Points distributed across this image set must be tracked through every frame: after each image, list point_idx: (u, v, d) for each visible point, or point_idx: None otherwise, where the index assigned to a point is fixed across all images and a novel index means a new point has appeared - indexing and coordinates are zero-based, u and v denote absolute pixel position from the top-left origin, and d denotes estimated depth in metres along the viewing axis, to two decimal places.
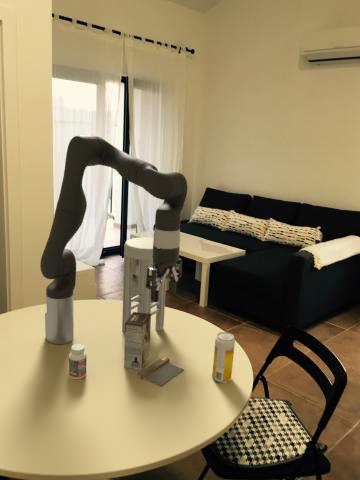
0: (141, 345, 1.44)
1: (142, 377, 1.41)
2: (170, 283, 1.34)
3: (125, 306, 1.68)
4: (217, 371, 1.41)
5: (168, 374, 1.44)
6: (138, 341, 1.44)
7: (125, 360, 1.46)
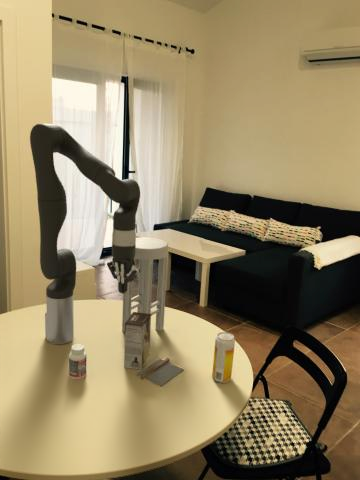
0: (141, 345, 1.44)
1: (142, 377, 1.41)
2: None
3: (125, 306, 1.68)
4: (217, 371, 1.41)
5: (168, 374, 1.44)
6: (138, 341, 1.44)
7: (125, 360, 1.46)
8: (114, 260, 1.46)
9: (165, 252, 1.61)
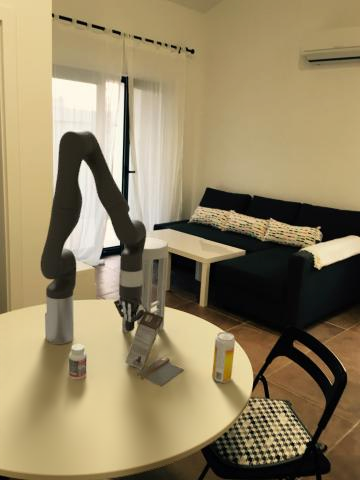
0: (148, 346, 1.43)
1: (142, 377, 1.41)
2: None
3: None
4: (217, 371, 1.41)
5: (168, 374, 1.44)
6: (147, 342, 1.43)
7: (128, 357, 1.46)
8: (121, 299, 1.48)
9: (165, 252, 1.61)
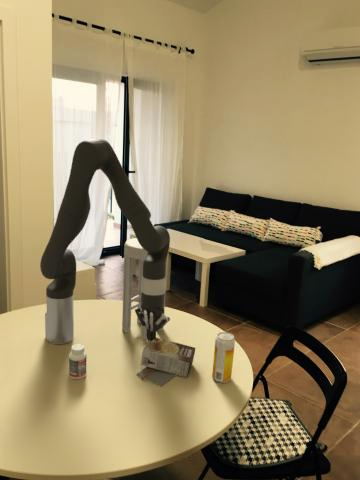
0: (167, 371, 1.44)
1: (142, 377, 1.41)
2: None
3: (125, 306, 1.68)
4: (217, 371, 1.41)
5: (168, 374, 1.44)
6: (171, 369, 1.43)
7: (150, 352, 1.43)
8: (143, 307, 1.43)
9: None
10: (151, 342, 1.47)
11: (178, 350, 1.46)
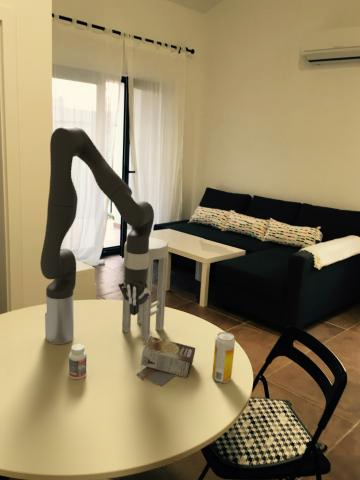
0: (167, 371, 1.44)
1: (142, 377, 1.41)
2: None
3: (125, 306, 1.68)
4: (217, 371, 1.41)
5: (168, 374, 1.44)
6: (171, 369, 1.43)
7: (150, 352, 1.43)
8: (126, 282, 1.45)
9: (165, 252, 1.61)
10: (151, 342, 1.47)
11: (178, 350, 1.46)
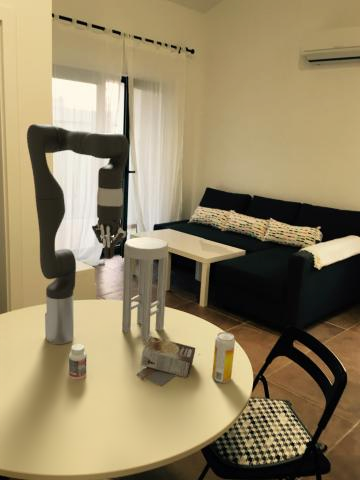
0: (167, 371, 1.44)
1: (142, 377, 1.41)
2: None
3: (125, 306, 1.68)
4: (217, 371, 1.41)
5: (168, 374, 1.44)
6: (171, 369, 1.43)
7: (150, 352, 1.43)
8: (99, 223, 1.35)
9: (165, 252, 1.61)
10: (151, 342, 1.47)
11: (178, 350, 1.46)
